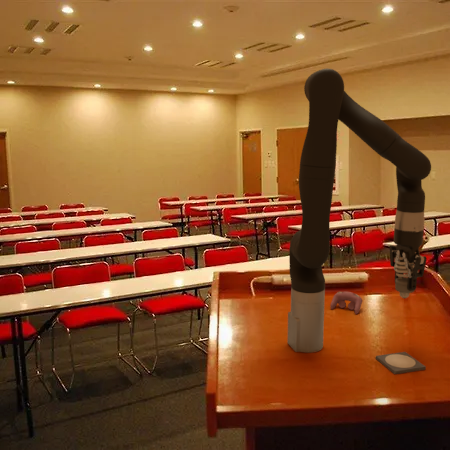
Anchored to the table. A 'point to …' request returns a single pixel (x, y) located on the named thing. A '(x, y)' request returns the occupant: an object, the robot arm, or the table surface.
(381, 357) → the pad
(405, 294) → the light bulb
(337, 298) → the video game controller
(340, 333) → the table surface
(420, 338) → the table surface
